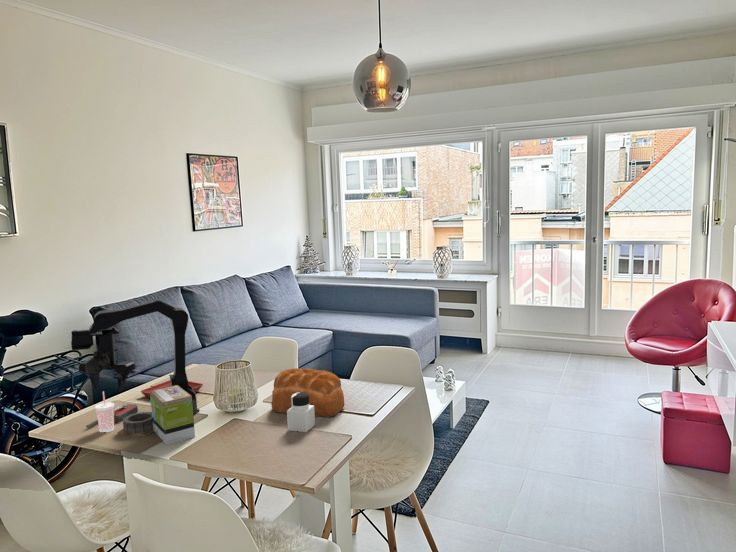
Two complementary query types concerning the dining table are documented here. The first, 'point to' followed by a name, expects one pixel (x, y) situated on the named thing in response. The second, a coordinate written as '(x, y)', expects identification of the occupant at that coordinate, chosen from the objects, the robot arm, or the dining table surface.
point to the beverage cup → (105, 416)
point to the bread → (308, 390)
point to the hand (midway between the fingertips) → (108, 390)
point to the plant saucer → (166, 384)
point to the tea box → (172, 414)
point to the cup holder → (137, 424)
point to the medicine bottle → (300, 413)
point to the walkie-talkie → (120, 413)
